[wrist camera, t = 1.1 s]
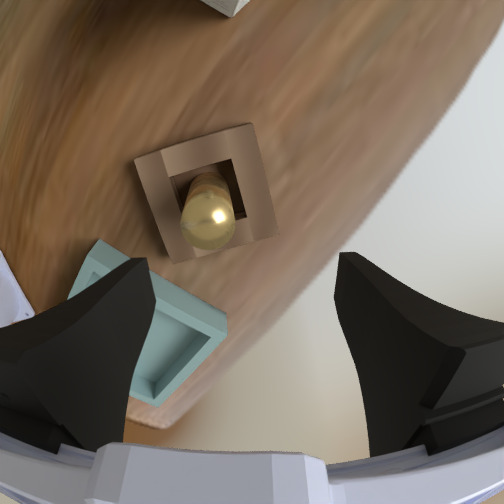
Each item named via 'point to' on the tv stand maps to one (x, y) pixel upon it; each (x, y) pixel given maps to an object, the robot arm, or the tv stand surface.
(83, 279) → the tray
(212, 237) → the pin
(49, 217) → the tv stand surface
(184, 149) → the collar
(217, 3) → the skincare box
